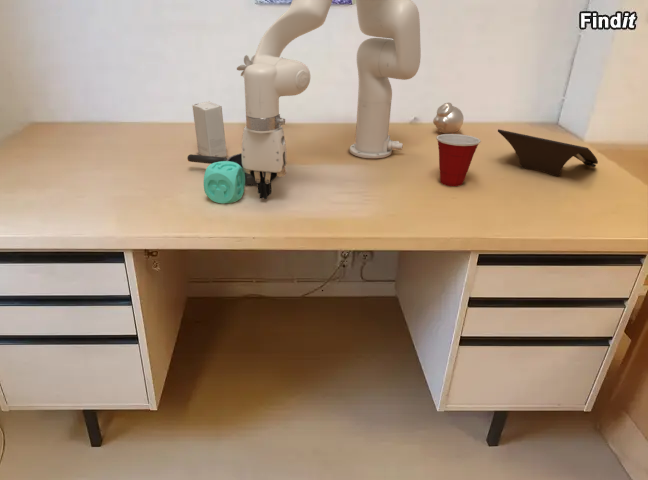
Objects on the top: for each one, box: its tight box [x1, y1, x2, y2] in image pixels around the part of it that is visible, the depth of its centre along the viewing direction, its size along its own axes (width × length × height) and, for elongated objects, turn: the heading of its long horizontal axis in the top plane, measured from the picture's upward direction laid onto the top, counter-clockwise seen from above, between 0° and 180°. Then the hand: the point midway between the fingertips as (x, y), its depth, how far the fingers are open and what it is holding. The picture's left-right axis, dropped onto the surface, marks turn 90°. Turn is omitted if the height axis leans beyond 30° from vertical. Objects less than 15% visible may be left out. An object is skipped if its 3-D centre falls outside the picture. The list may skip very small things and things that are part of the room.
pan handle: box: [186, 154, 228, 165], centre depth 150 cm, size 12×2×2 cm, turn 74°
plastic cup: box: [435, 133, 482, 187], centre depth 142 cm, size 11×11×12 cm
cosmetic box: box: [191, 100, 228, 158], centre depth 160 cm, size 8×6×15 cm
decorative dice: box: [203, 161, 246, 204], centre depth 135 cm, size 8×8×8 cm
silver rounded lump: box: [432, 102, 464, 135], centre depth 177 cm, size 9×10×10 cm
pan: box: [226, 152, 266, 186], centre depth 148 cm, size 13×13×4 cm
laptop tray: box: [497, 128, 599, 177], centre depth 151 cm, size 23×23×9 cm
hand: (264, 196), depth 135 cm, fingers closed
